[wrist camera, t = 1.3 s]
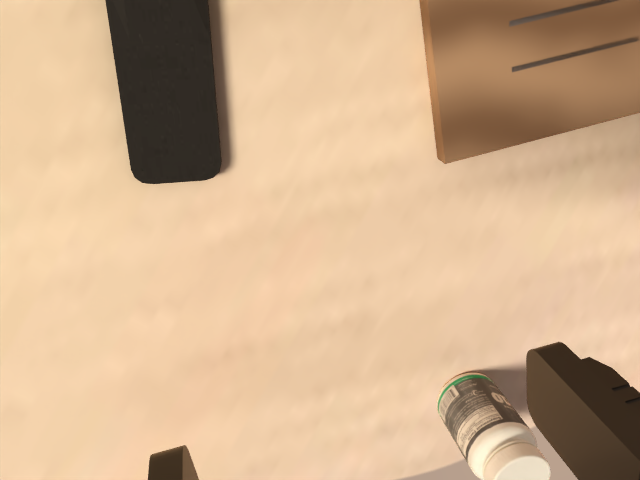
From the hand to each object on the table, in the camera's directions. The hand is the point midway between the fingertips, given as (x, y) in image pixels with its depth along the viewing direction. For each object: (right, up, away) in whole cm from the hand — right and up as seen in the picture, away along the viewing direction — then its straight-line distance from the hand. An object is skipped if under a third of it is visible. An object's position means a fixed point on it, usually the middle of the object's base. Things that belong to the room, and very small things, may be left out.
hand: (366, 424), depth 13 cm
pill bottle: (+10, -7, +31) cm, 33 cm away
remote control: (-9, +15, +17) cm, 24 cm away
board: (+13, +18, +20) cm, 30 cm away
